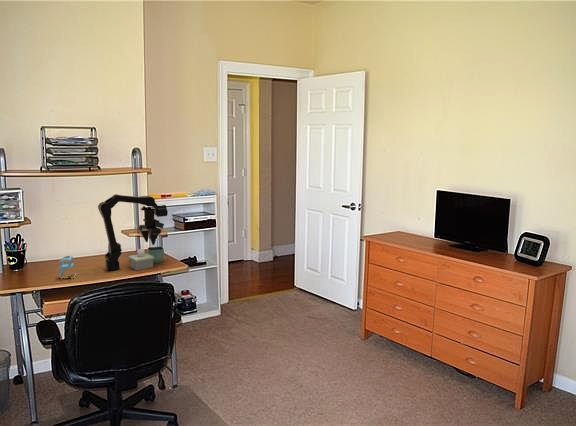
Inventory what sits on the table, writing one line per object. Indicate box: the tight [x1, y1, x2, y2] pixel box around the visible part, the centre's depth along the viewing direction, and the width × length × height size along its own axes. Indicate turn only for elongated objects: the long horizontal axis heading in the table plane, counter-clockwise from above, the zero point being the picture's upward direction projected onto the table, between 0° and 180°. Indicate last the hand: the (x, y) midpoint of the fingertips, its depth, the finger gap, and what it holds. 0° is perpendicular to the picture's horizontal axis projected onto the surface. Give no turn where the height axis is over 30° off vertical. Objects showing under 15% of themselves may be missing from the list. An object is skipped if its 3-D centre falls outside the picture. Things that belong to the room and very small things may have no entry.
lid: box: [127, 248, 154, 261], centre depth 298 cm, size 11×11×5 cm
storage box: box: [129, 258, 154, 271], centre depth 299 cm, size 10×10×6 cm
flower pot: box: [147, 245, 165, 264], centre depth 311 cm, size 9×9×9 cm
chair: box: [58, 255, 77, 278], centre depth 281 cm, size 8×8×12 cm
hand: (150, 243), depth 305 cm, fingers open, 9 cm apart
